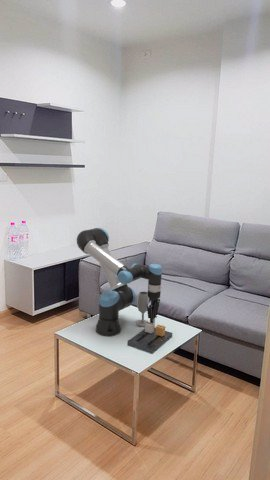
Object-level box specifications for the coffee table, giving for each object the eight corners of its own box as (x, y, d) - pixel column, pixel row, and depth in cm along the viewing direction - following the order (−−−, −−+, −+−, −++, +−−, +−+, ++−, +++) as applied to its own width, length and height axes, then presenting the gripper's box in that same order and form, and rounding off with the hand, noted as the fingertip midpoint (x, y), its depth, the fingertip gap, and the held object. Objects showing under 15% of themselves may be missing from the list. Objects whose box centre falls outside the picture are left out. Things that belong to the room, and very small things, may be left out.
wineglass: (148, 327, 225) (149, 295, 220) (134, 326, 226) (135, 294, 222) (150, 322, 233) (152, 291, 229) (137, 320, 235) (138, 289, 230)
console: (127, 344, 203) (127, 340, 202) (148, 329, 223) (149, 325, 222) (152, 353, 195) (152, 349, 194) (172, 336, 215) (172, 332, 214)
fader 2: (155, 334, 210) (156, 326, 209) (158, 332, 213) (158, 324, 212) (162, 336, 208) (162, 328, 207) (164, 334, 211) (165, 326, 209)
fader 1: (144, 331, 214) (145, 323, 212) (147, 329, 216) (147, 321, 215) (151, 333, 211) (151, 325, 210) (153, 331, 214) (154, 323, 213)
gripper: (154, 295, 204) (152, 333, 209) (165, 288, 215) (162, 325, 220) (143, 292, 208) (141, 330, 213) (153, 286, 219) (151, 322, 224)
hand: (152, 327), depth 216 cm, fingers closed
